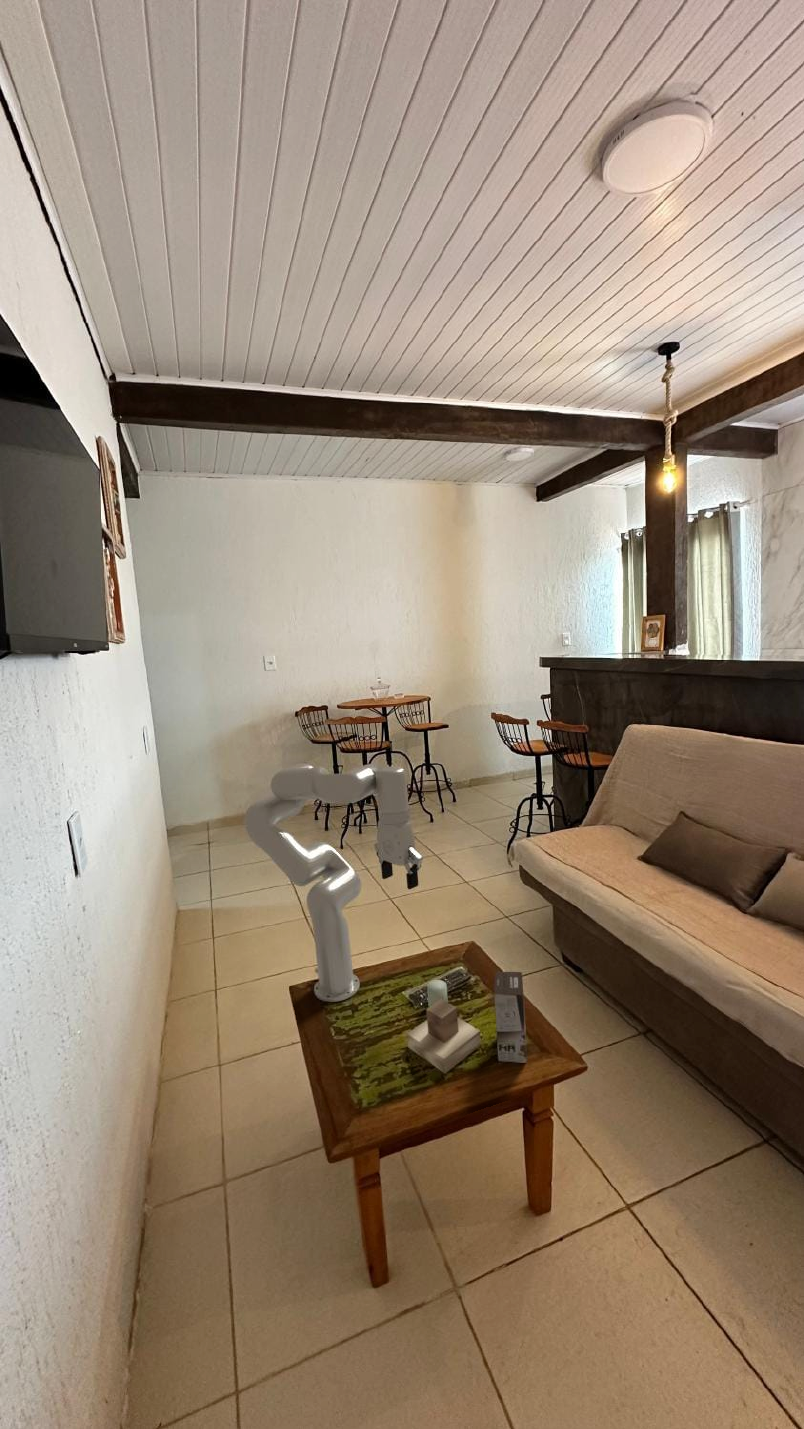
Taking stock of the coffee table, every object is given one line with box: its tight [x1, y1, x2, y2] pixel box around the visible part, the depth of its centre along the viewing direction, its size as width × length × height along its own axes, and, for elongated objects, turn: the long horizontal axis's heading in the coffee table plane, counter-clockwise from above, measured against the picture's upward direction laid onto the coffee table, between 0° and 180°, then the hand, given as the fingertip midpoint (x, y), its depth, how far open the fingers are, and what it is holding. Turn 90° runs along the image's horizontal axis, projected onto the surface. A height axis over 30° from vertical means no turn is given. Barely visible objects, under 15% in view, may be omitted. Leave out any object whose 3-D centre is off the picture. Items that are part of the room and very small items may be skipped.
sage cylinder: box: [426, 979, 449, 1008], centre depth 144 cm, size 5×5×6 cm
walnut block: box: [425, 999, 459, 1043], centre depth 129 cm, size 5×5×6 cm
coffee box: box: [493, 971, 527, 1064], centre depth 127 cm, size 9×6×16 cm
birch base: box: [406, 1017, 482, 1075], centre depth 130 cm, size 12×12×4 cm
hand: (400, 882), depth 141 cm, fingers open, 9 cm apart
